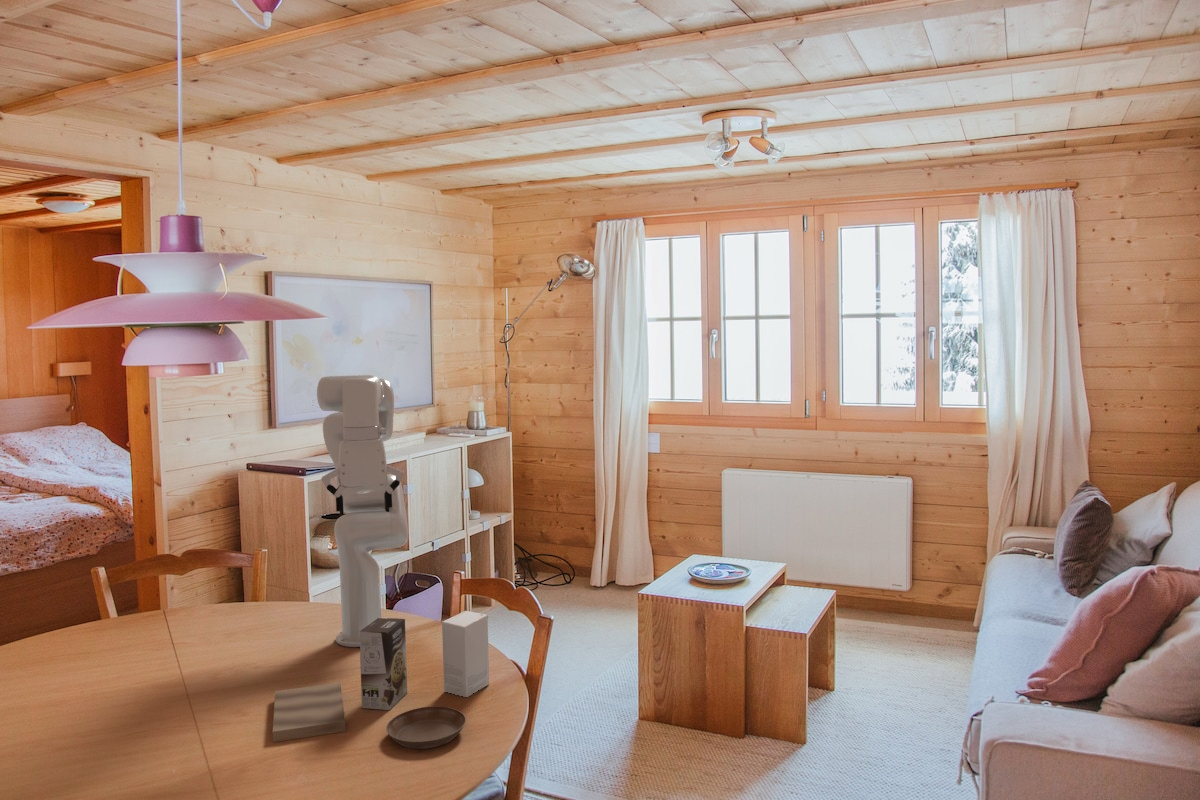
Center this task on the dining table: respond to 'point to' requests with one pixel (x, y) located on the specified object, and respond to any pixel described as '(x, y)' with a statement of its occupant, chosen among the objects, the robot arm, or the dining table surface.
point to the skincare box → (465, 653)
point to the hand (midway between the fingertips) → (364, 512)
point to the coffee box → (383, 663)
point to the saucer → (426, 727)
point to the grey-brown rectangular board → (308, 712)
